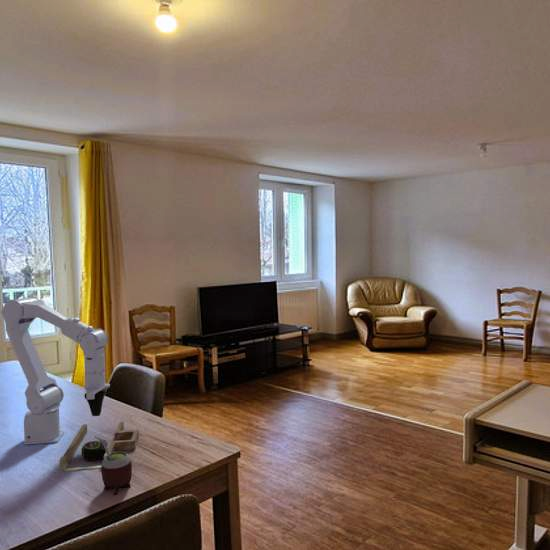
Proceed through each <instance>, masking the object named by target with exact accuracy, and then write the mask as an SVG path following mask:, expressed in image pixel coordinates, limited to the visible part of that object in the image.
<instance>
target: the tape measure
mask: <svg viewBox="0 0 550 550" xmlns="http://www.w3.org/2000/svg"><path fill="white" fill-rule="evenodd" d="M103 440H104V441H105V442H106V446H107V447H108V446H109V445H108V441H107V440H105V439H103ZM105 453H106V450H105V448H104V446H103V444H102V442H101V441H100V440H90V441H88V442H86V443H84V444H83V446H82V447H81V453H80V454H81V456H82V458H83V460H86V461H96V460H100V459H104V455H105Z"/></svg>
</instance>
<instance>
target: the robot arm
mask: <svg viewBox="0 0 550 550" xmlns="http://www.w3.org/2000/svg"><path fill="white" fill-rule="evenodd" d="M0 313H1V315H2V317H3V319H4V324H5V331H6V335H7V337H8V338H9V339H8V340H9V342H10V343H11V346H12V348H13V351H14V354H15V355H16V358H17V360H18V362H19V365H20V366H21V369H22V372H23V374H24V376H25V379H26V381H27V383H28V385H27V387H26V389H25V390H24V396H25V399H26V400H25V402H26V404H25V405H26V408H27V409H28V411H26V412H25V415H24V418H23V433H24V435H23V436H24V443H23V445H25V446H26V445H38V444H51V443H58V442H59V441H60V440H61V437H62V436H63V435H64V433H65V430H61V426H60V425H61V423H60V422H61V421H60V407H61V402H62V401H64V400H63V399H64V395H65V394H64V390H63V388H62V387H61V385H59V384H58V383H57V381H56V379H55V378H53V377H51V376H48V373H47V372H46V370H45V369H46V368H45V367H44V365H43V362H42V359H41V358H40V355H39V352H38V350H37V348H36V346H35V344H34V341H33V339H32V337H31V334H30V332H29V328H30V326H31V324H32V323H33V322H34V321H35V319H37V318H38V319H41V320H42V321H44V322H46V323H49V324H51V325H53V326H54V327H57V328H59V329H60V333H61V334H62V335H63V336H65V337H67V338H69V339H70V340H72V341H73V342H75V343H78V344H79V347H80V349H81V351H82V353H83V354H82V355H83V357H84V359H83V360H84V364H83V365H84V388H83V389H84V390H85V393H84V399H85V400H86V402H87V404H88V406H89V409H90V413H91V416H92V417H100V416H101V413H102V408H103V403H104V399H105V395H106V394H107V389H108V388H110V387H111V384H110V383H107V382H106V356H105V355H106V351H105V350H106V348H105V346H106V345H107V344H108V342H109V337H108V334H107V332H106V331H105V330H103V329H102V328H94V326H91V325H88V324H86V323H84V322H83V321H81V319H80V318H79V317H69V318H67V317H66V316H64V315H63V314H62V313H59V312H58V311H57V310H55V309H54V308H52V307H50V306H49V305H47V304H46V303H45V301H44V300H43V299H39V298H38V297H37V296H33V295H31V296H28V297H23V298H16V299H8V300H7V301H6V302H5V303H4V305H3V307H2V309H1V311H0Z"/></svg>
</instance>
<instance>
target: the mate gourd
mask: <svg viewBox="0 0 550 550" xmlns="http://www.w3.org/2000/svg"><path fill="white" fill-rule="evenodd" d="M94 438H95V439H96V440H97V441H101V442H102V444H103V446H104V448H105V450H106V453H107V456H106V457H105V458H103V460H102V463H101V465H102V466H101V468H100V473H101V478H102V482H103V484H104V486H103V491H109V490H112V491H113V490H114V491H113V496H117V495H118V493H119V490H120V489H121V490H122V489H129V488H131V486H132V483H131V480H132V474H133V463H132V460H131V457H130V456H129V454H128V453H126V452H125V451H115V452H114V453H111V454H109V451H108V448H109V447H108V445H107V446H106V443H107V441H106V442H105V441H104V440H105V439H102V438H101V437H99V436H94ZM130 483H131V484H130Z"/></svg>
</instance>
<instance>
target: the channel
mask: <svg viewBox="0 0 550 550" xmlns="http://www.w3.org/2000/svg"><path fill="white" fill-rule="evenodd" d="M124 422H125V421H119V422H118V425H117V427H116V429H115V432H114V440H111V441H110V444H109V445H108V447H107V448H108V451H109V454H111V453H114V452H123V451H130V450H131V451H132V450H133V451H134V450H136V449H137V444H138V442H139V438H140V432H139V429H130V430H129V429H128V430H125V425H124V424H125V423H124ZM87 433H88V424H87V423H84V424H82V425H81V427H80V428H79V430H78V432H77V433H76V435H74V436H75V437H74V438H73V439H72V441H71V443H70V444H69V446H68V448H67V449H66V451H65V452H64V454H63V455H62V456H61V457H60V458H59V471H64V472H71V471H84V470H85V471H86V470H95V469H101V466H102V464H101V465H90V466H89V465H88V466H79V467H68V466H69V464H70V462H71V460H72V458H73V457H74V456H75V454H76V452H77V450H78V448H79V447H80V446H81V443H82V442H83V440H84V438H85V437H86V434H87ZM106 456H107V453H105V455H104V458H105V457H106ZM104 458H103V459H104Z"/></svg>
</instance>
